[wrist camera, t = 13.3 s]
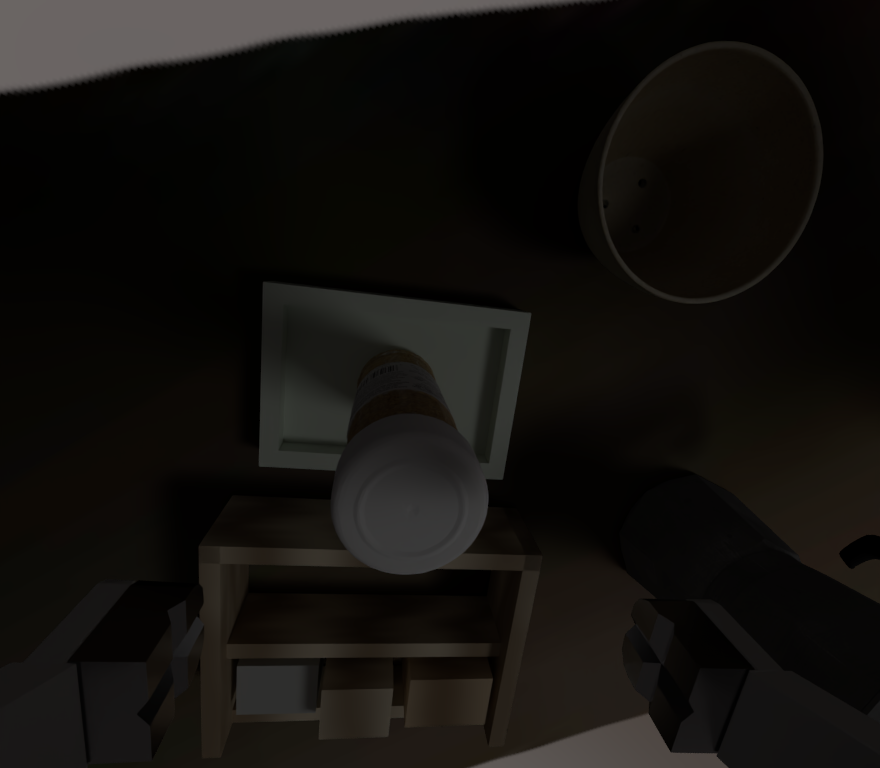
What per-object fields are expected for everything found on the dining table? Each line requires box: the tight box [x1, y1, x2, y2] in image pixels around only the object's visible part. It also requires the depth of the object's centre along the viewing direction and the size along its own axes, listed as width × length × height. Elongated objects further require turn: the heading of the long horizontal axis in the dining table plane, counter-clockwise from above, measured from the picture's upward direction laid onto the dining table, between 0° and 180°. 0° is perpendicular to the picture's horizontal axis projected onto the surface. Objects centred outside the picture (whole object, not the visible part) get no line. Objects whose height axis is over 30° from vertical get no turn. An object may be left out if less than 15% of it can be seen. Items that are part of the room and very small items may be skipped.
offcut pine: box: [319, 657, 393, 740], centre depth 27 cm, size 4×4×6 cm
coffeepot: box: [619, 474, 880, 723], centre depth 22 cm, size 15×9×18 cm, turn 129°
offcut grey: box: [236, 658, 324, 715], centre depth 27 cm, size 5×4×4 cm
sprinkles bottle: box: [331, 349, 489, 575], centre depth 18 cm, size 5×5×13 cm
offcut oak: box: [402, 657, 493, 727], centre depth 28 cm, size 5×4×5 cm
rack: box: [199, 495, 543, 758], centre depth 27 cm, size 18×14×5 cm
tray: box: [259, 281, 531, 480], centre depth 25 cm, size 14×10×2 cm
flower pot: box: [578, 41, 823, 304], centre depth 21 cm, size 10×10×7 cm
